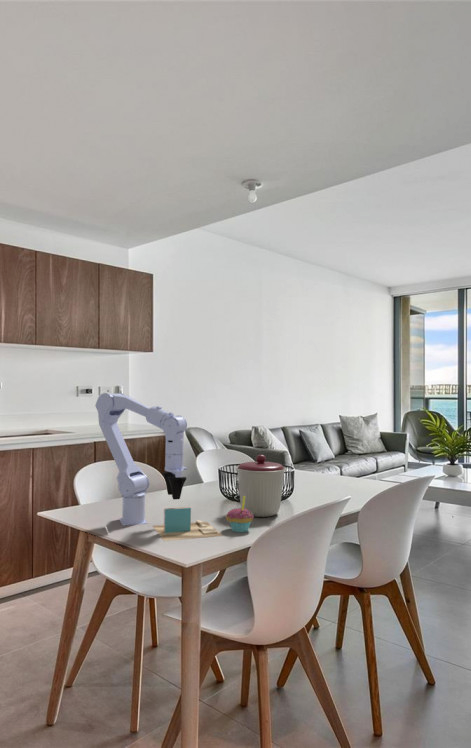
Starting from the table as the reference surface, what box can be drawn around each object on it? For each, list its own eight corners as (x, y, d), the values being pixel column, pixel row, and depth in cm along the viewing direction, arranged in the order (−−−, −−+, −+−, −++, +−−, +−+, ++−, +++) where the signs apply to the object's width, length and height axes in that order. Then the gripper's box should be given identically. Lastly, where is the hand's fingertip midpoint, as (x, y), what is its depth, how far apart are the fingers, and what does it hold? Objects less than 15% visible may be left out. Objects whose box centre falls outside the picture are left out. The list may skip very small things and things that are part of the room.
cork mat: (152, 527, 170) (152, 525, 170) (206, 523, 176) (206, 521, 176) (163, 542, 153) (163, 540, 153) (223, 537, 159) (223, 535, 159)
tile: (163, 531, 163) (164, 508, 163) (189, 529, 166) (189, 506, 166) (164, 532, 161) (165, 509, 161) (190, 530, 164) (190, 508, 164)
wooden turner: (191, 523, 174) (191, 520, 174) (204, 522, 175) (204, 519, 175) (203, 534, 160) (203, 531, 160) (217, 533, 161) (217, 530, 161)
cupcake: (258, 531, 166) (259, 492, 167) (241, 536, 160) (241, 496, 160) (238, 526, 172) (238, 489, 172) (220, 531, 166) (220, 492, 166)
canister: (270, 522, 177) (270, 459, 178) (225, 515, 187) (225, 455, 188) (294, 512, 192) (294, 454, 193) (251, 506, 202) (252, 450, 203)
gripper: (192, 456, 164) (191, 500, 164) (181, 451, 178) (181, 491, 177) (169, 457, 162) (168, 501, 161) (160, 451, 176) (160, 492, 175)
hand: (173, 496), depth 169 cm, fingers open, 7 cm apart
